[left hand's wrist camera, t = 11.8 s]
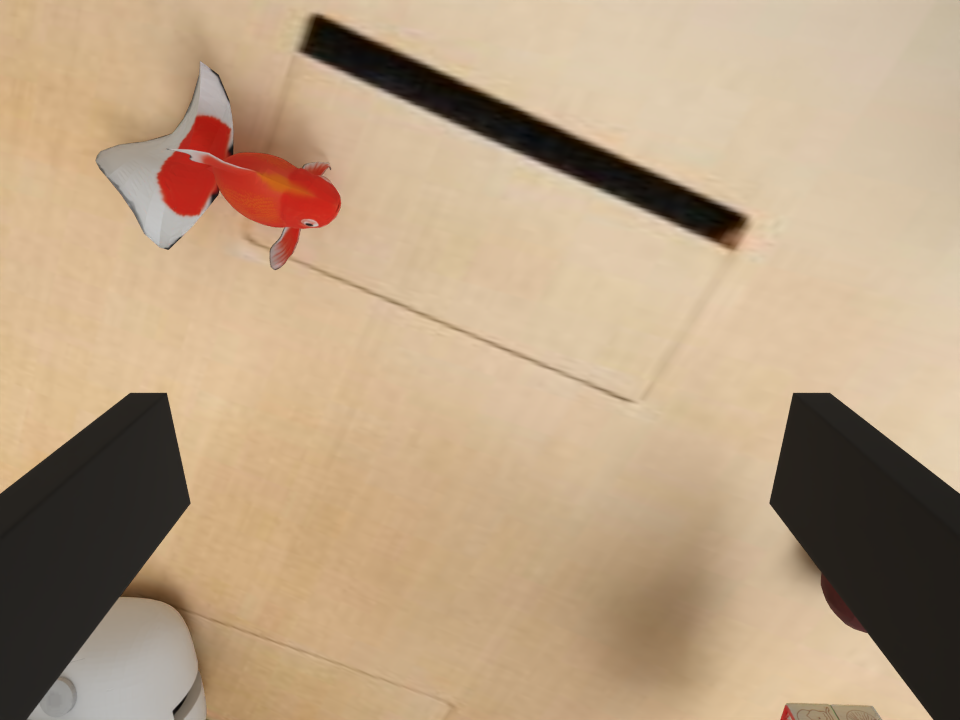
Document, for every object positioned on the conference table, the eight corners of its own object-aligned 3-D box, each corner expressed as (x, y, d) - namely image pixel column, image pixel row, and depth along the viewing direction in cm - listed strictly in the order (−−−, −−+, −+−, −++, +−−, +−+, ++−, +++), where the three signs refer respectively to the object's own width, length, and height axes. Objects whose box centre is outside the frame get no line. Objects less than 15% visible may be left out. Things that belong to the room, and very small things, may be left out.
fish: (299, 337, 40) (203, 301, 30) (143, 222, 43) (13, 157, 34) (391, 205, 40) (325, 126, 30) (227, 102, 44) (122, 2, 34)
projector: (53, 503, 50) (-105, 645, 37) (276, 641, 56) (211, 808, 42) (-59, 648, 56) (-231, 816, 43) (153, 759, 62) (61, 938, 48)
